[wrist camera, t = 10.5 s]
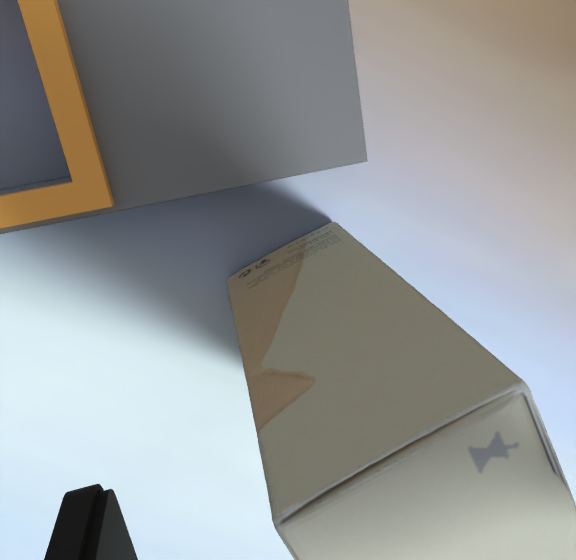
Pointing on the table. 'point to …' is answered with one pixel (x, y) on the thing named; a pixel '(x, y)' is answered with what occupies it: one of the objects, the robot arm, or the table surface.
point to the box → (389, 418)
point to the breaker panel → (187, 99)
